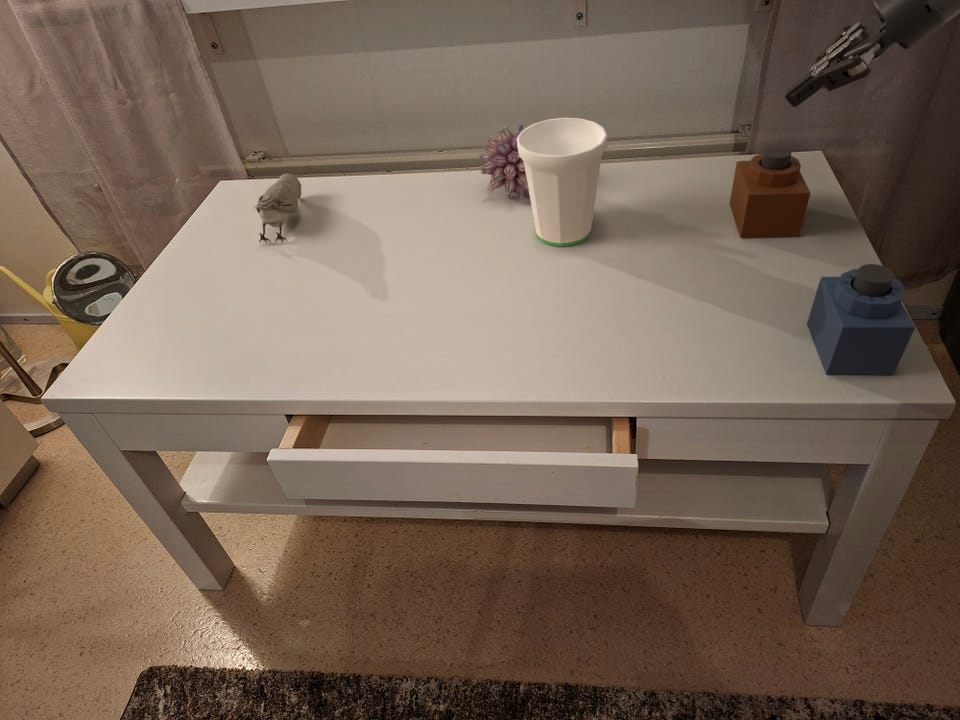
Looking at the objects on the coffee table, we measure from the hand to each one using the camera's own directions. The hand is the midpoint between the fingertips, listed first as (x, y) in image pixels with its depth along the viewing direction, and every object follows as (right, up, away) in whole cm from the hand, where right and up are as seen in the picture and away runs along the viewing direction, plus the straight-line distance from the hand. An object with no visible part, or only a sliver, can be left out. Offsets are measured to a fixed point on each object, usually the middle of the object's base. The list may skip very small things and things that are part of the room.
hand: (788, 100), depth 85 cm
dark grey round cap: (+2, -26, -15) cm, 30 cm away
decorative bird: (-73, -10, +27) cm, 79 cm away
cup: (-28, -14, +15) cm, 35 cm away
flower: (-34, -6, +26) cm, 43 cm away
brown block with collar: (+2, -13, +12) cm, 18 cm away
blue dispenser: (+3, -33, -9) cm, 34 cm away
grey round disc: (+1, -7, +6) cm, 9 cm away
